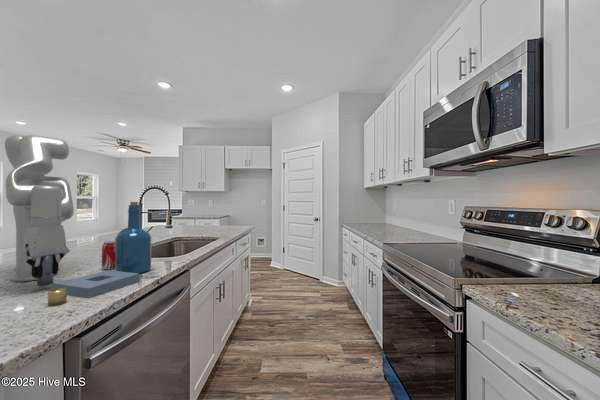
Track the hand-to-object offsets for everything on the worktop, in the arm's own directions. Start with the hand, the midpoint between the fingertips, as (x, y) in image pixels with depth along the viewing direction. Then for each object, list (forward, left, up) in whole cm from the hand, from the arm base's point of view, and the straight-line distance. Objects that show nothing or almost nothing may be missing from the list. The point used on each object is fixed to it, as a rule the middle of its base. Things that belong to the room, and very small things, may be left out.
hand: (45, 275), depth 91 cm
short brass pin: (+19, -7, -5) cm, 21 cm away
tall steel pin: (0, 0, -3) cm, 3 cm away
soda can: (-6, +28, -5) cm, 29 cm away
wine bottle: (+8, +27, -5) cm, 28 cm away
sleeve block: (+15, +8, -5) cm, 17 cm away
